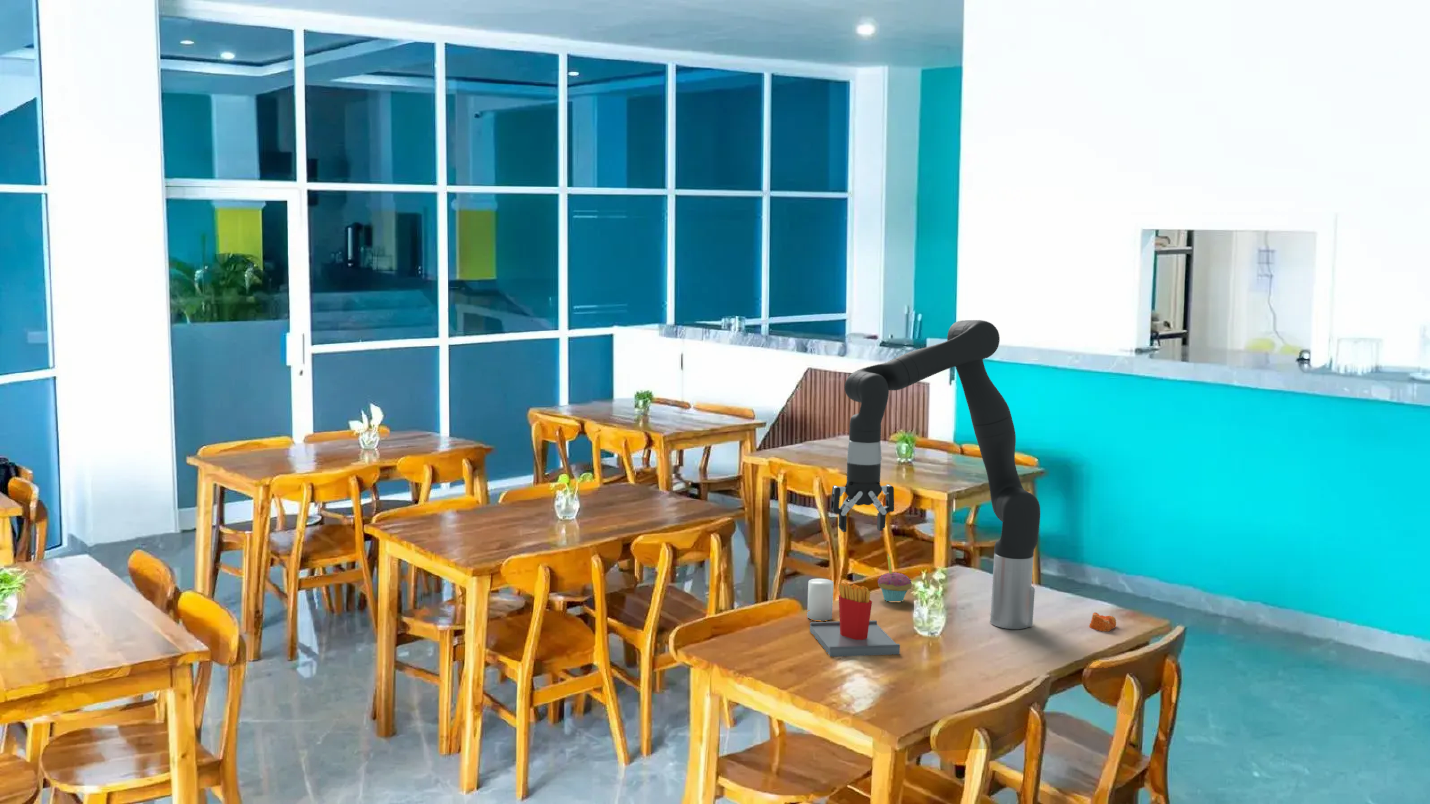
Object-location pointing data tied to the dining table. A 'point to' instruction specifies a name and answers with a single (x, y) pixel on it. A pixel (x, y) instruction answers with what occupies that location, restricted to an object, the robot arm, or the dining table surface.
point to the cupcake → (894, 585)
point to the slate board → (853, 640)
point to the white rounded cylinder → (820, 599)
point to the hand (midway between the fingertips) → (861, 530)
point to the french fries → (854, 611)
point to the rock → (1102, 622)
